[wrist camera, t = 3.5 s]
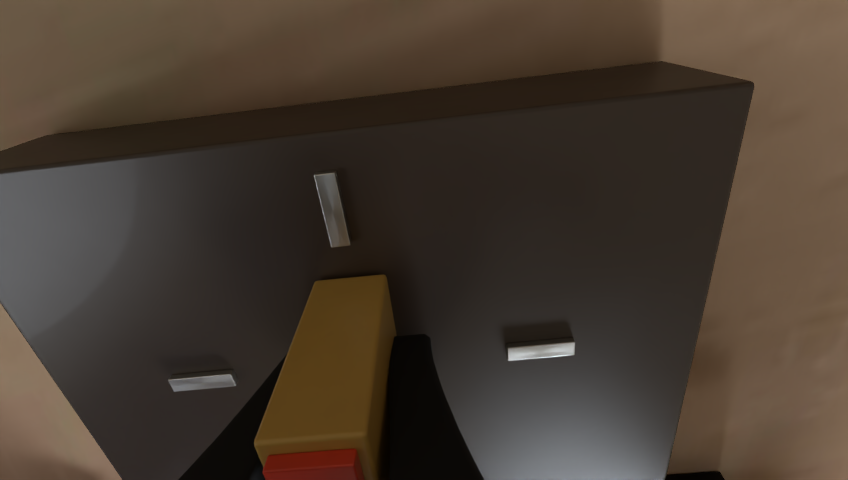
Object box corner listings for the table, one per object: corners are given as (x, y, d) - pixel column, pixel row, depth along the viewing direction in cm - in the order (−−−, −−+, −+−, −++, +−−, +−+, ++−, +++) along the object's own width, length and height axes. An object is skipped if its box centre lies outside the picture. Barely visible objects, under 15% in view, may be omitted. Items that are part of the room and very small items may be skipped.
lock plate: (197, 429, 15) (146, 527, 12) (44, 134, 10) (-97, 183, 7) (620, 392, 14) (669, 486, 11) (663, 60, 10) (765, 82, 7)
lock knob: (413, 432, 10) (410, 635, 7) (355, 437, 11) (325, 641, 7) (386, 272, 8) (364, 452, 5) (314, 279, 8) (243, 463, 5)
